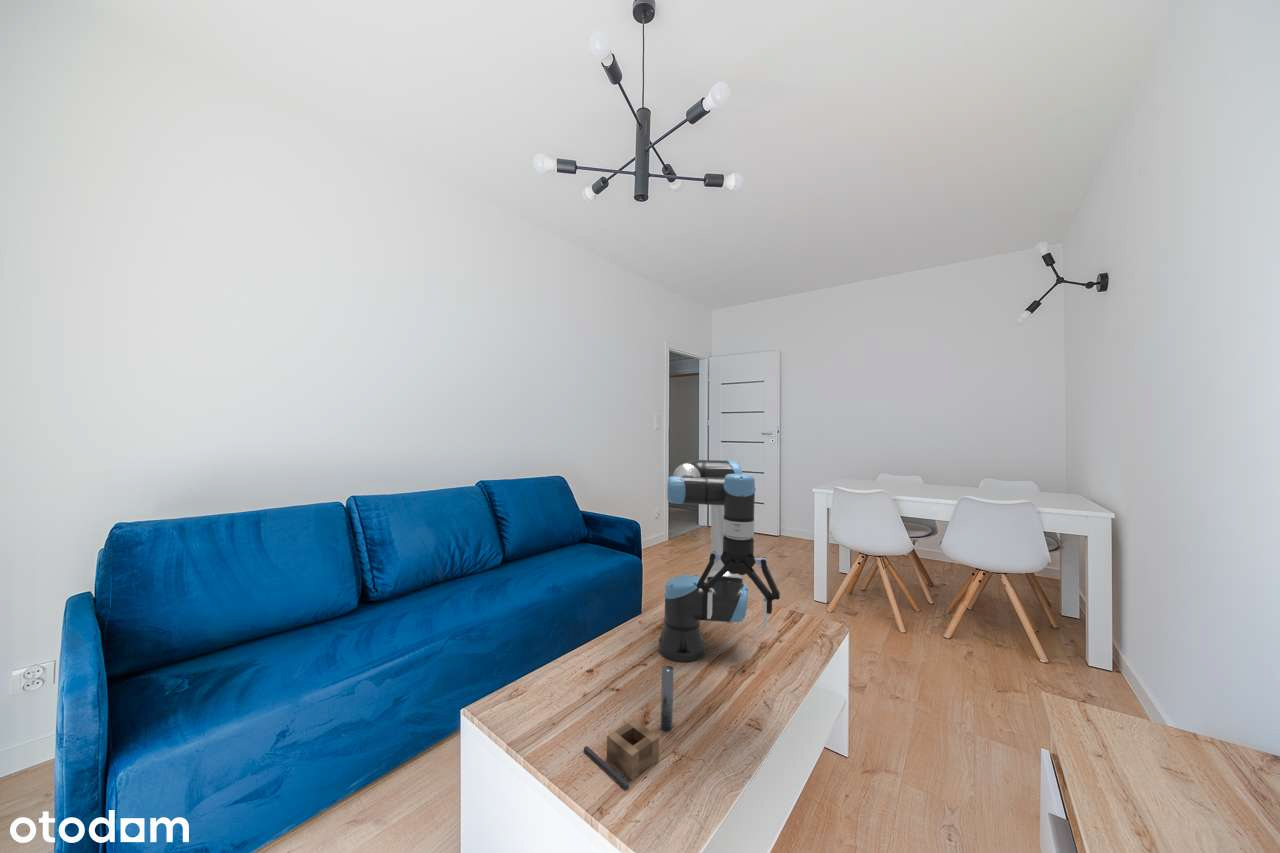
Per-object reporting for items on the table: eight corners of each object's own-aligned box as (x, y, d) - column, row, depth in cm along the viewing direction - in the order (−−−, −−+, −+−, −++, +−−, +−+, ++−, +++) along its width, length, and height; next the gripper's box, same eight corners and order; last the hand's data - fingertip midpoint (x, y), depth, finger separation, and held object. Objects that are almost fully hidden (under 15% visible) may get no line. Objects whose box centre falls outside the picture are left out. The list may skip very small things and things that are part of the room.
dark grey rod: (583, 751, 96) (583, 747, 96) (586, 749, 96) (586, 745, 96) (626, 790, 86) (626, 786, 86) (628, 787, 86) (629, 783, 86)
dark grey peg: (658, 726, 104) (659, 668, 104) (666, 721, 106) (667, 664, 106) (666, 732, 102) (668, 673, 102) (674, 727, 104) (675, 669, 104)
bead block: (606, 758, 94) (607, 735, 94) (633, 740, 99) (634, 718, 99) (631, 780, 88) (632, 755, 88) (658, 760, 94) (659, 737, 94)
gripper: (686, 534, 109) (684, 618, 109) (791, 545, 101) (789, 636, 100) (692, 528, 116) (691, 607, 116) (791, 537, 108) (789, 623, 107)
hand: (736, 621), depth 108 cm, fingers open, 13 cm apart
